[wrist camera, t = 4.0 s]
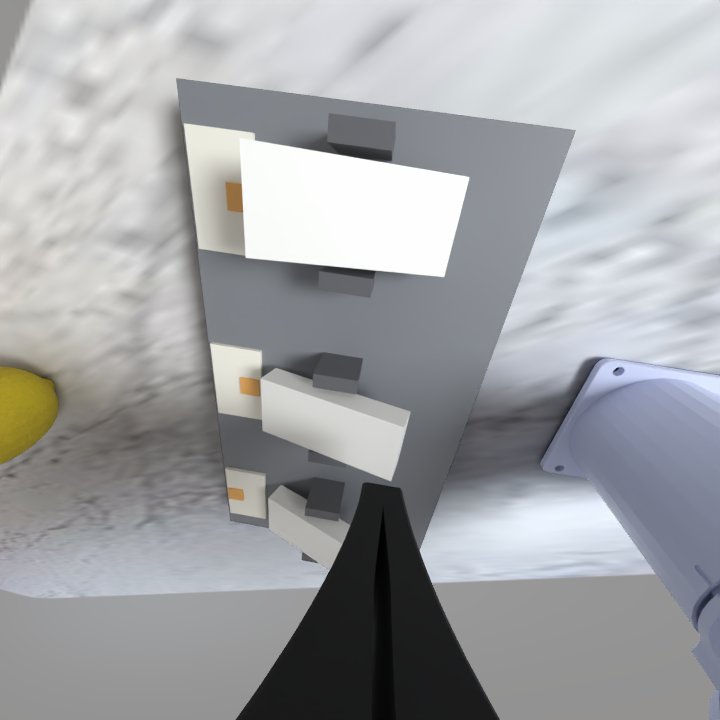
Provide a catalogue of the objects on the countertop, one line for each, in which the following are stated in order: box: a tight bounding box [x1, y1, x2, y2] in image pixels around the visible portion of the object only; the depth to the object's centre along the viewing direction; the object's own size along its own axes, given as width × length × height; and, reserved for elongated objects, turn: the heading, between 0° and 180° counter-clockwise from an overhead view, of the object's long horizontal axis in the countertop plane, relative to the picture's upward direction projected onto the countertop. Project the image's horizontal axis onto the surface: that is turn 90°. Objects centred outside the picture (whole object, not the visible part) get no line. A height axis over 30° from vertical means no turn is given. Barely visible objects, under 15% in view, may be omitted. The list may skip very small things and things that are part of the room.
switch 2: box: [239, 138, 469, 277], centre depth 10 cm, size 7×3×1 cm, turn 83°
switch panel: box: [176, 78, 576, 563], centre depth 16 cm, size 14×25×4 cm, turn 173°
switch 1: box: [268, 485, 350, 570], centre depth 19 cm, size 7×3×1 cm, turn 82°
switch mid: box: [261, 368, 410, 481], centre depth 14 cm, size 7×3×1 cm, turn 82°
